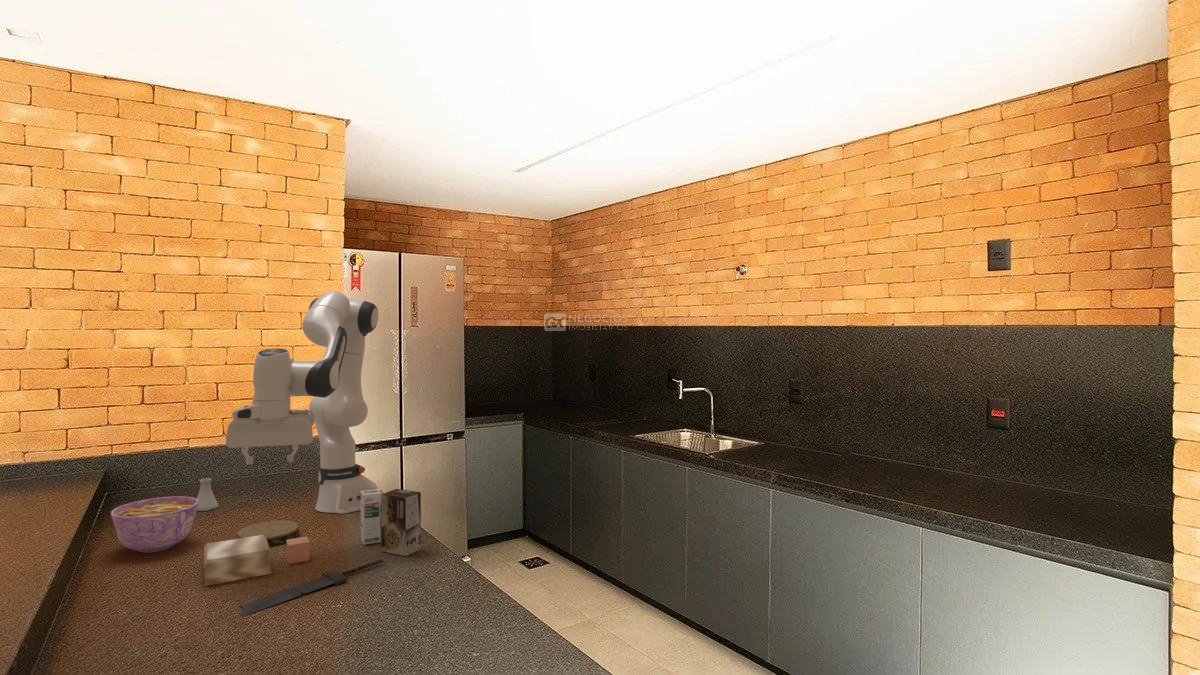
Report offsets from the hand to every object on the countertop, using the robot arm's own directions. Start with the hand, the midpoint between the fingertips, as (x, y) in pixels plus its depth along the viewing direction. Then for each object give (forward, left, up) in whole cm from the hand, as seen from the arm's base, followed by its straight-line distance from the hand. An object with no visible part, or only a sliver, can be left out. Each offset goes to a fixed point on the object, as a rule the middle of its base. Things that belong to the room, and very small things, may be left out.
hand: (270, 463), depth 162 cm
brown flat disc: (-1, -20, -27) cm, 34 cm away
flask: (+14, -63, -26) cm, 70 cm away
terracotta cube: (-6, +2, -26) cm, 27 cm away
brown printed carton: (-31, +10, -26) cm, 42 cm away
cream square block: (+8, +2, -26) cm, 27 cm away
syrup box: (-26, -2, -26) cm, 37 cm away
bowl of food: (+26, -28, -26) cm, 46 cm away
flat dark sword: (-8, +23, -27) cm, 36 cm away
